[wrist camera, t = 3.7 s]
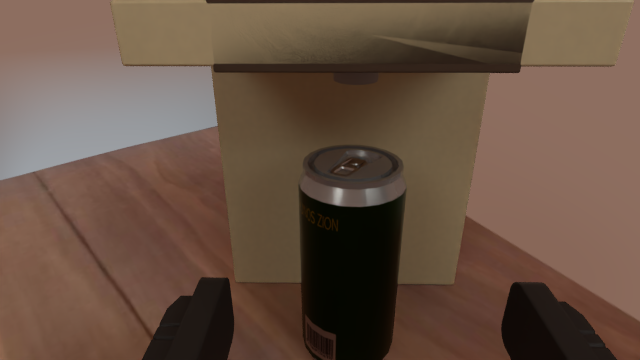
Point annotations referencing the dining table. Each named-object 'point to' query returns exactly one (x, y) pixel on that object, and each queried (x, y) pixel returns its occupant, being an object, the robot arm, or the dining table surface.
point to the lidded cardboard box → (358, 99)
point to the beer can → (350, 250)
